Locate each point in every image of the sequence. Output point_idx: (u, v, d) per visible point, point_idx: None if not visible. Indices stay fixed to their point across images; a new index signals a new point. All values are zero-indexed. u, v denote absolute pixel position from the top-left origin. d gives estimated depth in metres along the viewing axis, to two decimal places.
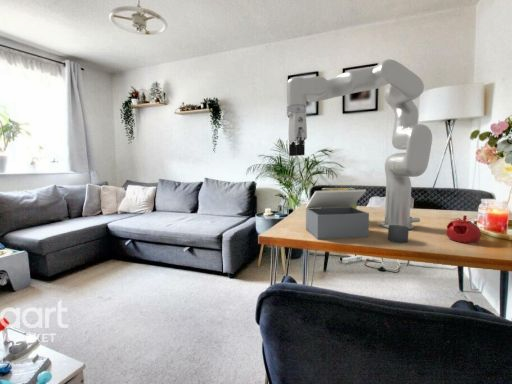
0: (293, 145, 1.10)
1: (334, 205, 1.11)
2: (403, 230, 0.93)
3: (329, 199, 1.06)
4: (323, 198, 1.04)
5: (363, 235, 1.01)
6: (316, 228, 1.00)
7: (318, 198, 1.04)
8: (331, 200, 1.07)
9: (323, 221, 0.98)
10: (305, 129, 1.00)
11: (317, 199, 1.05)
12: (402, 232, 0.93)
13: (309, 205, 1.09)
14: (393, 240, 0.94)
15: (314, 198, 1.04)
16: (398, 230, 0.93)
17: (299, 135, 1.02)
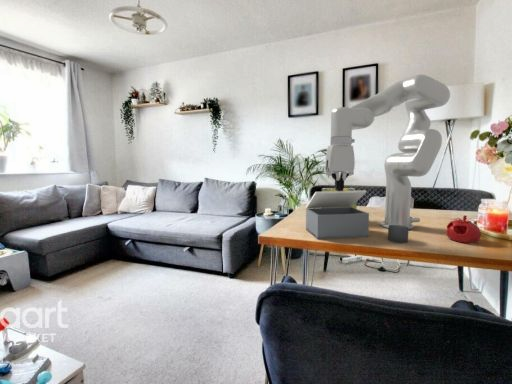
0: (338, 177, 1.01)
1: (334, 205, 1.11)
2: (403, 230, 0.93)
3: (329, 199, 1.05)
4: (323, 198, 1.04)
5: (363, 235, 1.01)
6: (316, 228, 1.00)
7: (318, 199, 1.04)
8: (331, 200, 1.06)
9: (323, 221, 0.98)
10: None
11: (317, 199, 1.05)
12: (402, 232, 0.93)
13: (309, 205, 1.09)
14: (393, 240, 0.94)
15: (314, 199, 1.04)
16: (398, 230, 0.93)
17: None
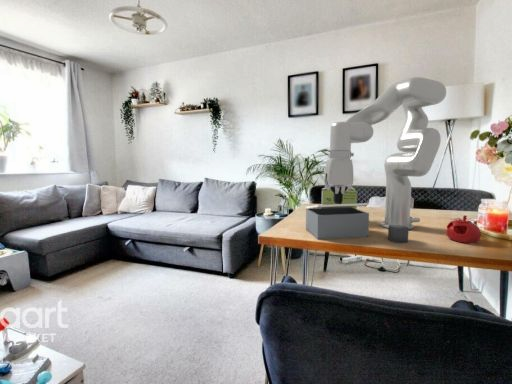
0: (337, 190, 1.02)
1: None
2: (403, 230, 0.93)
3: None
4: None
5: (363, 235, 1.01)
6: (316, 228, 1.00)
7: (319, 207, 1.03)
8: None
9: (323, 221, 0.98)
10: None
11: (318, 207, 1.04)
12: (402, 232, 0.93)
13: None
14: (393, 240, 0.94)
15: (315, 207, 1.03)
16: (398, 230, 0.93)
17: None
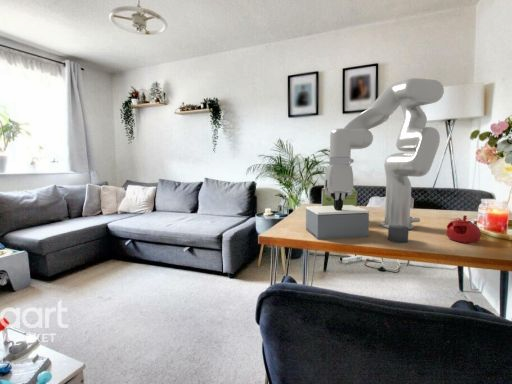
0: (337, 197, 1.02)
1: None
2: (403, 230, 0.93)
3: None
4: None
5: (363, 235, 1.01)
6: (316, 228, 1.00)
7: None
8: None
9: (323, 221, 0.98)
10: None
11: None
12: (402, 232, 0.93)
13: (309, 209, 1.09)
14: (393, 240, 0.94)
15: None
16: (398, 230, 0.93)
17: None
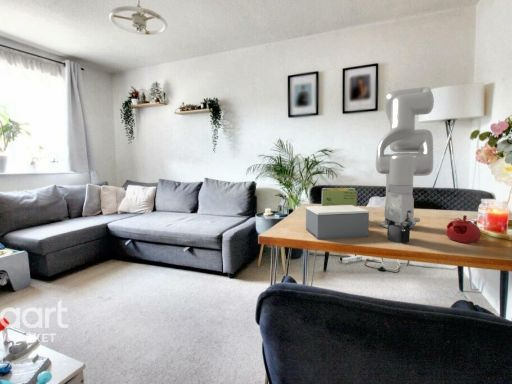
0: None
1: None
2: None
3: None
4: None
5: (363, 235, 1.01)
6: (316, 228, 1.00)
7: None
8: None
9: (323, 221, 0.98)
10: None
11: None
12: None
13: (309, 209, 1.09)
14: (393, 240, 0.94)
15: None
16: (398, 230, 0.93)
17: None
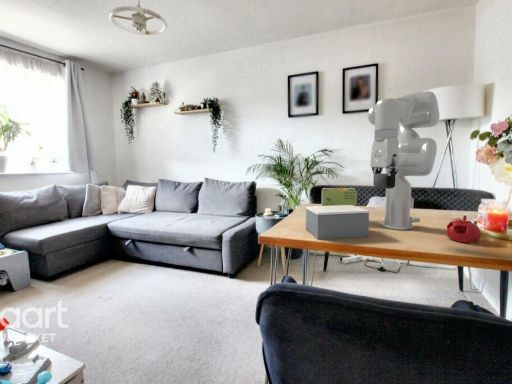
0: None
1: None
2: None
3: None
4: None
5: (363, 235, 1.01)
6: (316, 228, 1.00)
7: None
8: None
9: (323, 221, 0.98)
10: None
11: None
12: None
13: (309, 209, 1.09)
14: (379, 186, 0.94)
15: None
16: (384, 175, 0.93)
17: None
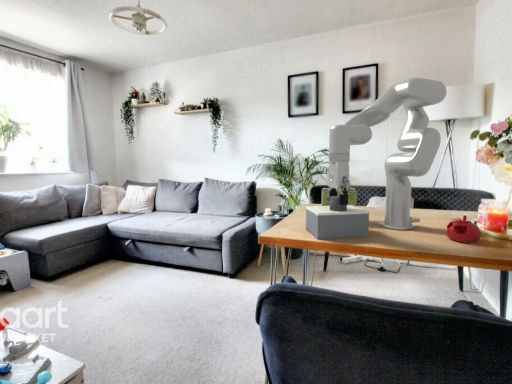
0: None
1: None
2: None
3: None
4: None
5: (363, 235, 1.01)
6: (316, 228, 1.00)
7: None
8: None
9: (323, 221, 0.98)
10: None
11: None
12: None
13: None
14: (333, 209, 1.02)
15: None
16: (336, 199, 1.00)
17: None
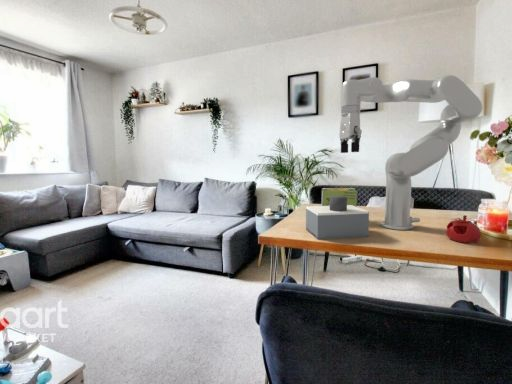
0: None
1: None
2: (341, 199, 1.00)
3: None
4: None
5: (363, 235, 1.01)
6: (316, 228, 1.00)
7: None
8: None
9: (323, 221, 0.98)
10: None
11: None
12: (340, 201, 1.00)
13: None
14: (333, 209, 1.02)
15: None
16: (336, 199, 1.00)
17: None
